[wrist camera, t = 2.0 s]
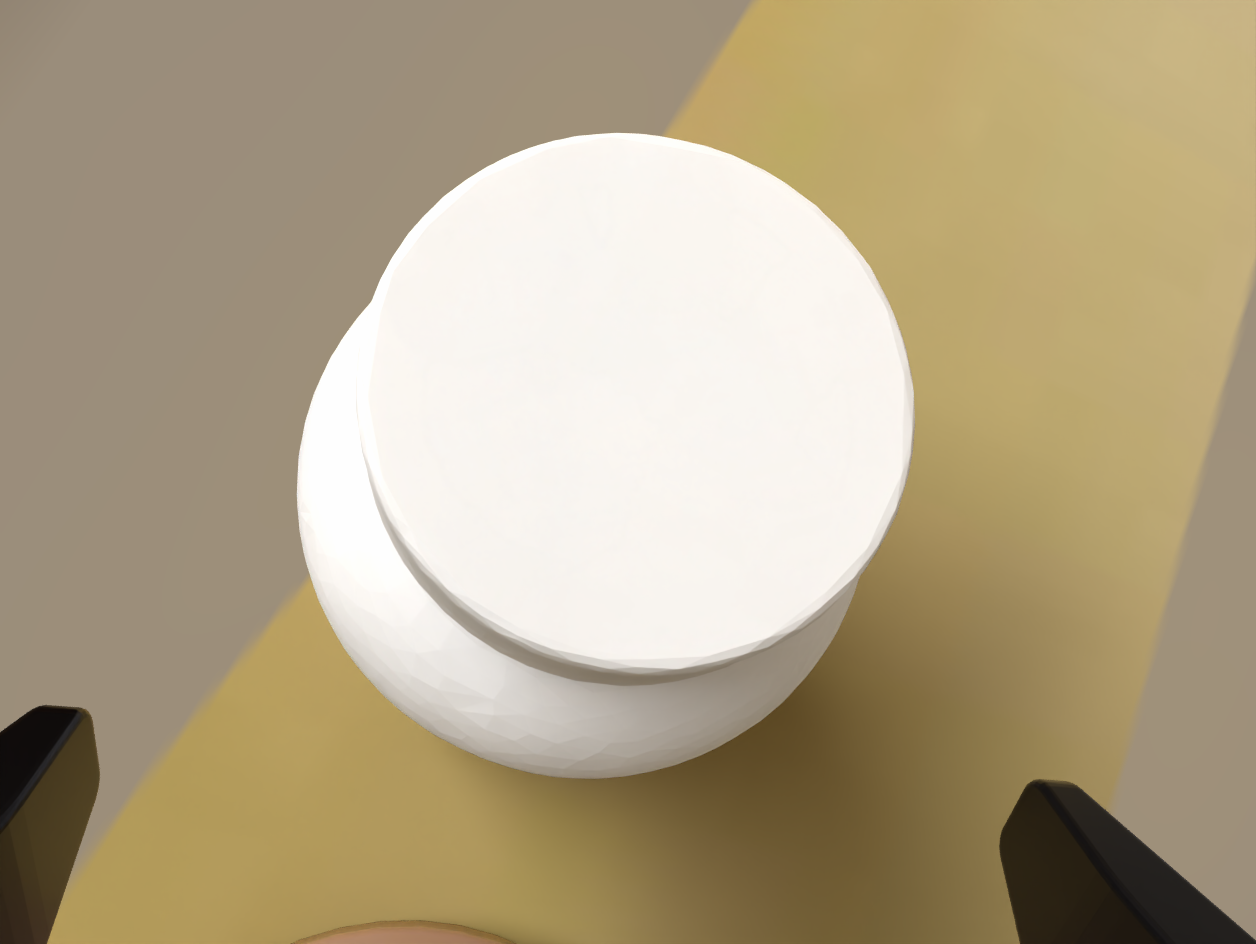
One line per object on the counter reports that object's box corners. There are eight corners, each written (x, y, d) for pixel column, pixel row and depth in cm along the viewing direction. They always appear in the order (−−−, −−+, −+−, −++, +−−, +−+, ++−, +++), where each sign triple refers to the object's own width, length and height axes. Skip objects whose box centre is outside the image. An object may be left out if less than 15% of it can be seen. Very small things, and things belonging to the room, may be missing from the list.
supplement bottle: (474, 367, 21) (500, -109, 9) (745, 519, 22) (1134, 257, 9) (300, 648, 19) (31, 532, 7) (600, 812, 20) (843, 975, 7)
